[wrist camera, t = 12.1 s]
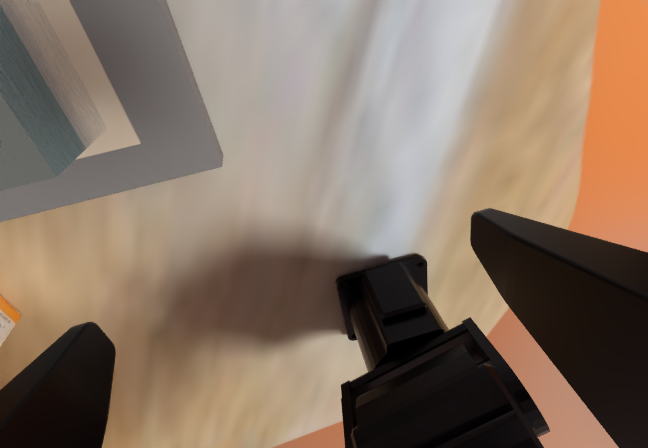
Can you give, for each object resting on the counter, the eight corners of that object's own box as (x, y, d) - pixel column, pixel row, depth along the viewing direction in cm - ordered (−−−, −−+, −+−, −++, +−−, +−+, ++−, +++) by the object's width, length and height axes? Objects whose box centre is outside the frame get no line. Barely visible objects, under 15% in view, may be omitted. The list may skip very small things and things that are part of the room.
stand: (223, 155, 18) (221, 167, 17) (-33, 218, 18) (-56, 237, 16) (82, -225, 11) (60, -256, 10) (-366, -146, 10) (-457, -168, 9)
